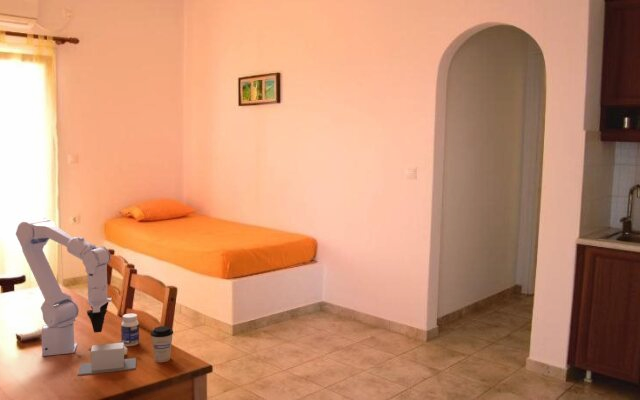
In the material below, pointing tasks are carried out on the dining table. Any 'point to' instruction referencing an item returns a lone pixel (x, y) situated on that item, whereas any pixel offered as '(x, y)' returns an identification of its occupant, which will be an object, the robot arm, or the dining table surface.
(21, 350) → the dining table surface
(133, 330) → the pill bottle
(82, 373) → the mat
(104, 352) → the cover
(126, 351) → the cream marble
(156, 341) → the coffee cup
